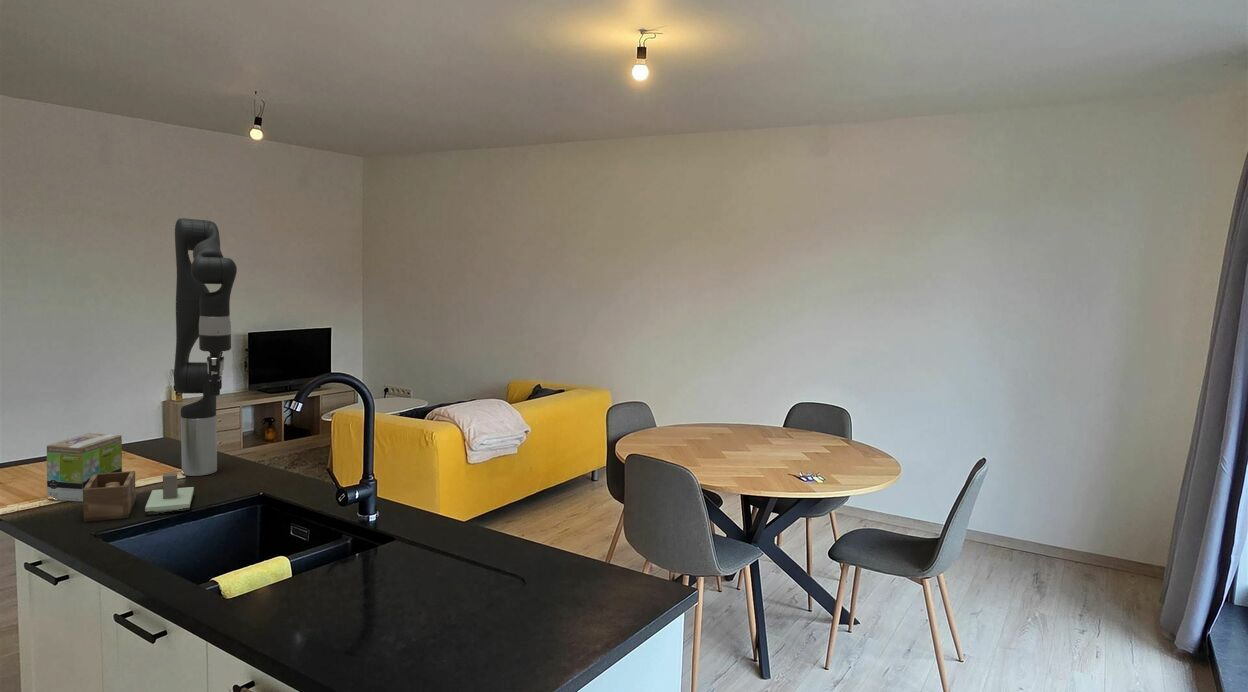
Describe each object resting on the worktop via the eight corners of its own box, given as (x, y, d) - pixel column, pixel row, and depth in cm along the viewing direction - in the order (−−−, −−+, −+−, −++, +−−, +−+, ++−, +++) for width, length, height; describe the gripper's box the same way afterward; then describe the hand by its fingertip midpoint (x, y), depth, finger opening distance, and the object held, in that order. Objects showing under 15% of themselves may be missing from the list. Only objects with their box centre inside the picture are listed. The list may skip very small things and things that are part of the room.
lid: (152, 497, 199) (151, 468, 198) (193, 494, 204) (193, 465, 203) (145, 515, 186) (144, 484, 185) (189, 511, 191) (189, 481, 190)
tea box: (84, 502, 194) (82, 447, 192) (46, 500, 194) (43, 445, 192) (124, 485, 209) (122, 433, 207) (88, 483, 209) (86, 431, 207)
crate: (94, 503, 193) (93, 473, 192) (135, 500, 197) (134, 470, 196) (83, 521, 181) (82, 490, 180) (128, 517, 185) (127, 486, 184)
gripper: (229, 335, 194) (230, 397, 196) (232, 329, 206) (233, 386, 209) (196, 336, 191) (197, 398, 193) (201, 329, 203) (202, 387, 205)
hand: (216, 392), depth 201 cm, fingers open, 8 cm apart
